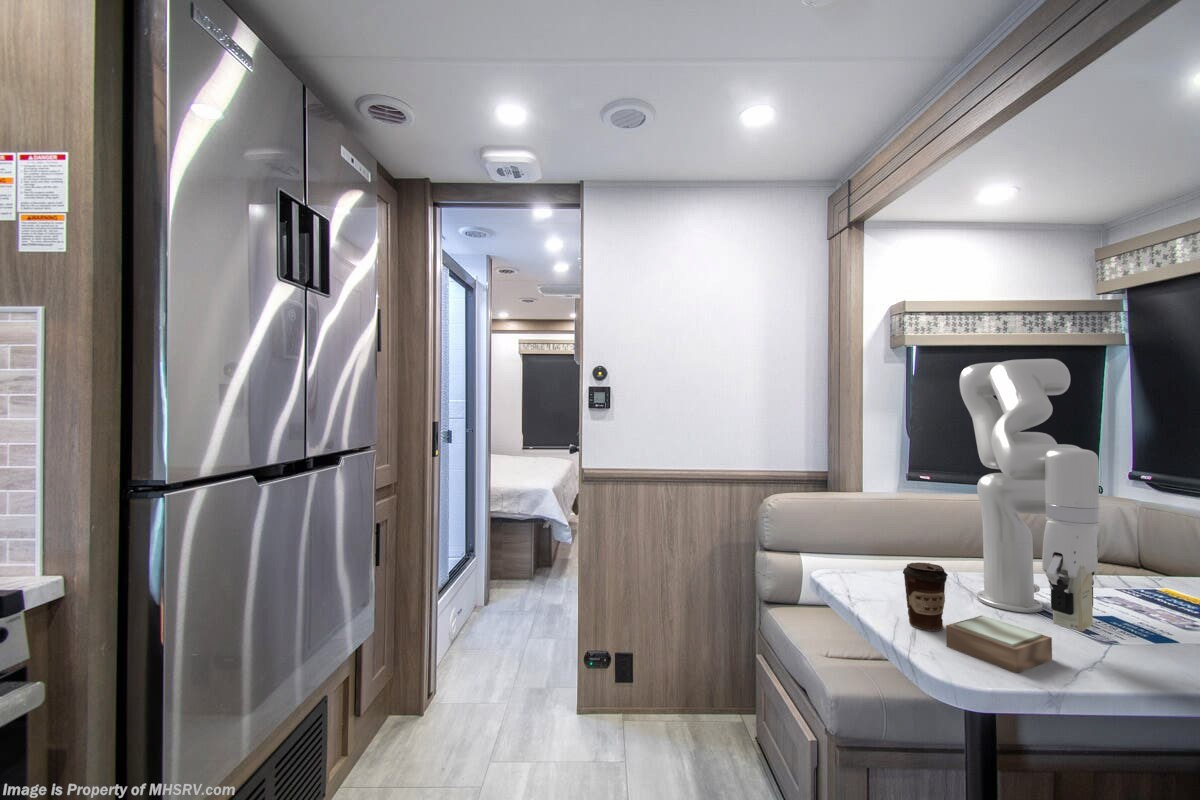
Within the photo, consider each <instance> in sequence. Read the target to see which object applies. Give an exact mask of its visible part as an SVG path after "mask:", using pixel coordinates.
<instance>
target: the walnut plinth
mask: <svg viewBox="0 0 1200 800" xmlns="http://www.w3.org/2000/svg"><path fill="white" fill-rule="evenodd" d="M945 635H946V636H945V638H946V639H945V640H946V641H945V643H946V644H945V646H946V647H947V648H950V649H953V650H955V651H958V652H960V653H963V654H965V655H968V656H971V657H974V658H975V659H978V660H981V661H983V662H986V663H988V664H990V665H994V666H996V667H998V668H1002V669H1004V670H1006V671H1009V672H1011V673H1014V674H1018V673H1021V672H1025V671H1026V670H1029V669H1031V668H1034V667H1037V666H1039V665H1042V664H1045V663H1047V662H1050V661H1052V660H1053V644H1052V643H1053V639H1052V638H1053V637H1051V636H1048V635H1045V634H1042V633H1039V632H1035V631H1033V630H1029V629H1026V628H1024V627H1020V626H1017V625H1014V624H1011V623H1008V622H1004V621H1001V620H998V619H995V618H992V617H989V616H986V615H979V616H975V617H972V618H971V617H970V618H968V619H964V620H960V621H958V622H953V623H949V624H946V625H945Z"/></svg>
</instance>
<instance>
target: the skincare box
mask: <svg viewBox="0 0 1200 800" xmlns="http://www.w3.org/2000/svg"><path fill="white" fill-rule="evenodd" d="M1059 573H1060V574H1064V575H1067V574H1068V572H1065V571H1062V570H1060V572H1059ZM1059 579H1061V580H1063V582H1064V584H1065V583H1066V579H1064V578H1060V577H1059ZM1092 587H1093V586H1092V573H1089V574H1088V573H1087V572H1086V570H1085V568H1084V566H1083V565H1082V566H1080V569H1079V575H1078V577H1077V578H1073V583H1072V588H1071V592H1070V593H1073V604H1074V613H1073V614H1072V615H1068V614H1065V613H1061V612H1058V611H1055V610H1052V620H1053V622H1052V624H1053V625H1057V626H1059V627H1062V628H1066V629H1070V630H1073V631H1077V632H1084V631H1085V630H1087V629H1088V628H1090V627H1091V626H1093V623H1094V622H1093V621H1094V619H1093V607H1092Z"/></svg>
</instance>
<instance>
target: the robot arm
mask: <svg viewBox="0 0 1200 800" xmlns="http://www.w3.org/2000/svg"><path fill="white" fill-rule="evenodd" d="M1070 385H1071V374H1070V371H1069V368H1068V367H1067V366H1066V364H1065V363H1063V362H1062V361H1061V360H1059V359H1056V358H1034V359H1033V358H1030V359H1029V358H1028V359H1024V358H1023V359H1011V360H1005V361H1001V362H999V361H998V362H997V361H995V362H981V363H975V364H971V365H969V366H966V367H965V368H963V370H961V372H960V375H959V392H960V395H961V397H962V400H963V403H964V405H965V407H966V408H967V410H968V412H969V415H970V417H971V419H972V424H973V430H974V435H975V441H976V446H977V453H978V456H979V459H980V462H981V463H982V466H984V467H986V468H989V469H995V470H1000V471H1001V472H993V473H988V474H986V475H983V476H981V478H979V479H978V482H977V488H976V491H977V497H978V501H979V505H980V512H981V521H982V541H983V542H982V543H983V544H982V547H983V548H982V549H983V552H982V553H983V581H984V582H983V583H984V584H983V586H984V587H983V589H984V590H981V591H978V592H976V598H977V600H978V601H979V602H980V603H982V604H985V605H987V606H990V607H993V608H996V609H999V610H1000V609H1001V610H1005V611H1011V612H1014V613H1015V612H1016V613H1026V614H1027V613H1030V614H1031V613H1039V612H1042V611H1043V609H1044V607H1043V603H1042V602H1041V601H1039V600H1038V599H1035V594H1036V593H1038V592H1040V591H1041V588H1040V586H1039V585H1038V584H1036V583H1035V582H1034V579H1035V578H1034V577H1035V576H1034V553H1033V552H1034V549H1033V547H1034V546H1033V543H1034V542H1033V534H1032V531H1031V529H1030V527H1029V526H1028V525H1027V524H1026V523H1025V522H1024V520H1022V519H1021V517H1020V516H1019V515H1021V514H1024V515H1025V514H1028V515H1029V514H1030V515H1031V514H1033V515H1044V516H1045V520H1046V522H1045V527H1044V532H1043V541H1042V556H1041V561H1042V562H1041V567H1042V571H1043V572H1044V573H1045V576H1046V577H1047V579H1048V583H1049V590H1050V609H1051V610H1052V611H1053V610H1055V611H1058V612H1061V613H1065V614H1068V615H1072V614H1073V613H1074V604H1073V593H1070V592H1071V588H1072V583H1073V578H1077V577H1078V575H1079V569H1080V566H1082V565H1083V566H1084V568H1085V570H1086V572H1087V573H1088V574H1089V573H1092V608H1094V585H1095V581H1094V575H1095V572H1096V571H1097V569H1098V564H1099V563H1098V560H1099V558H1098V557H1099V555H1098V554H1099V553H1098V552H1099V551H1098V537H1097V529H1096V527H1097V526H1099V525H1100V492H1099V491H1100V487H1099V486H1100V485H1099V484H1100V482H1099V481H1100V479H1099V477H1100V475H1099V474H1100V473H1099V456H1098V455H1097V454H1096V452H1094V451H1093V450H1090V449H1086V448H1085V449H1084V448H1081V447H1079V446H1077V445H1074V444H1067V443H1064V444H1063V443H1062V444H1061V443H1060V444H1058V443H1057V441H1056V439H1055V438H1054V437H1053V436H1052V435H1050V434H1048V433H1044V432H1038V431H1025V430H1028V429H1031V428H1033V427H1036V426H1038V425H1040V424H1042V423H1045V422H1046V421H1047V420H1048V419H1049V418H1050V417H1051V416H1052V415H1053V409H1054V408H1053V405H1052V403H1051V401H1050V399H1049V397H1048V396H1059V395H1063V394H1064V393H1065V392H1067V391H1068V389H1069V387H1070ZM994 396H996V398H997V399H996V398H995V397H994ZM1060 570H1062V571H1065V572H1068V574H1067V575H1064V574H1060V573H1059V572H1060ZM1059 577H1060V578H1064V579H1066V583H1065V584H1064V582H1063V580H1061V579H1059Z"/></svg>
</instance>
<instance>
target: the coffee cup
mask: <svg viewBox="0 0 1200 800" xmlns="http://www.w3.org/2000/svg"><path fill="white" fill-rule="evenodd" d="M902 574H903V575H904V577H903V578H904V587H905V596H906V606H907V614H908V622H909V624H910V626H912V627H914V628H917V629H921V630H925V631H933V632H934V631H935V632H936V631H942V630H944V628H945V627H944V624H943V614H944V607H945V602H946V597H945V596H946V593H945V586H946V582H947V579H948V578H947V577H948V575H949V574H948V573H947V572H946V571H945V568H944V567H943V566H941V565H939V564H933V563H930V562H928V563H927V562H911V563H906V566H905V567H904V568H903V571H902Z"/></svg>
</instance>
